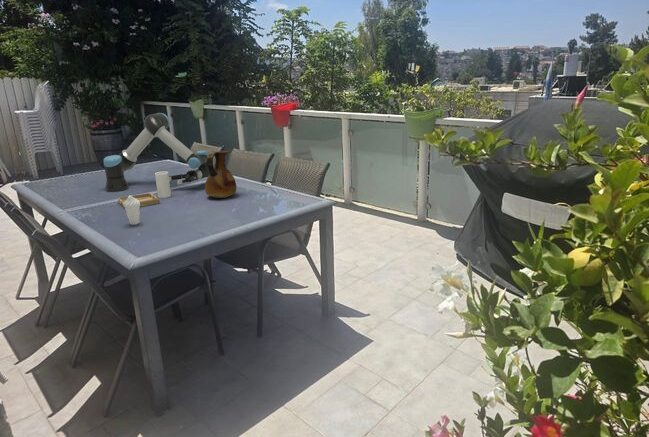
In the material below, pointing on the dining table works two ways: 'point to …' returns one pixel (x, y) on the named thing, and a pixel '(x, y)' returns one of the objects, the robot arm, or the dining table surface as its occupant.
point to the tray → (142, 199)
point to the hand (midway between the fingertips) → (170, 181)
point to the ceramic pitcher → (219, 177)
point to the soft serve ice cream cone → (132, 209)
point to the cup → (163, 184)
